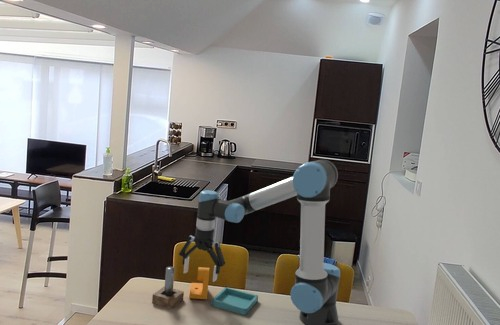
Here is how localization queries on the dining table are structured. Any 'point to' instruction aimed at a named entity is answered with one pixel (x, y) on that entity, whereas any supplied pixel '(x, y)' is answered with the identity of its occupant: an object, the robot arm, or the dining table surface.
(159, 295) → the tan square sleeve
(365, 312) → the dining table surface
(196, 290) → the bracket
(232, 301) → the tray
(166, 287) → the pin
